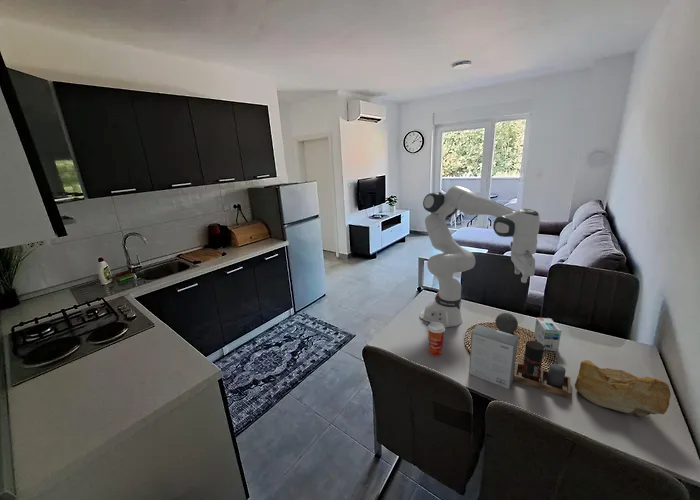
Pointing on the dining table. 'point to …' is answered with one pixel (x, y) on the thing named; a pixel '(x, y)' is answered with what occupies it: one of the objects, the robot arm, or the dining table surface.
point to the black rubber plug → (556, 376)
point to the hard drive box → (493, 355)
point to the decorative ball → (506, 322)
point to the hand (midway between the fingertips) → (520, 277)
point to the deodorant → (532, 360)
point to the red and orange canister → (435, 338)
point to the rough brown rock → (622, 390)
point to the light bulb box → (547, 333)
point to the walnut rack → (543, 382)
